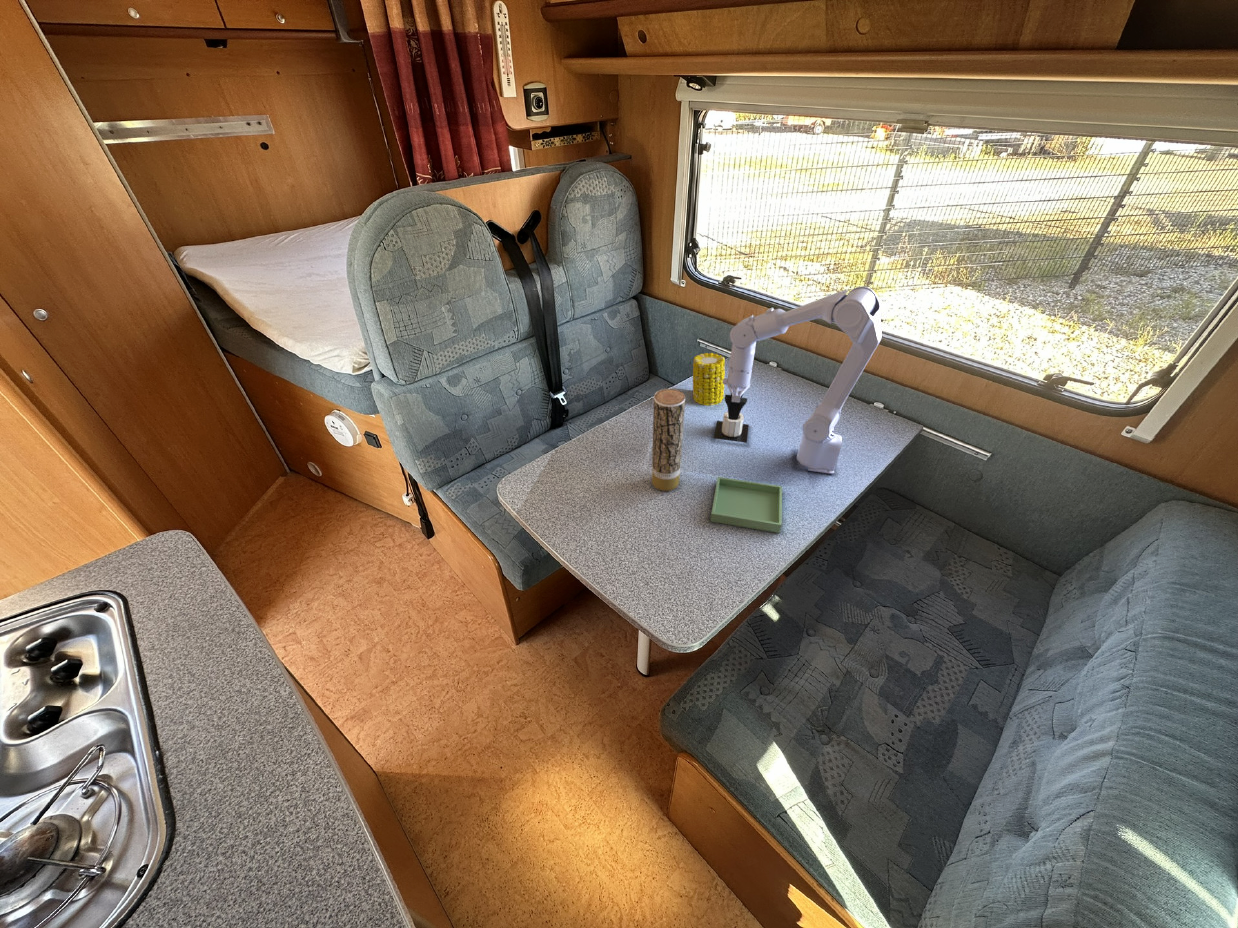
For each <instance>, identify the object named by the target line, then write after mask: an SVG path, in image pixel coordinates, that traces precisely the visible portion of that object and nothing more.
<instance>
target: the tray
mask: <svg viewBox="0 0 1238 928" xmlns="http://www.w3.org/2000/svg"><path fill="white" fill-rule="evenodd" d="M782 521H783V486H782V485H778V484H777V485H776V484H769V483H762V482H756V481H750V480H742V479H736V478H729V477H723V476H717V478H716V485H715V490H714V496H713V503H712V508H711V515H710V522H713V523H719V524H725V525H730V526H734V527H735V526H736V527H741V528H747V529H753V530H759V531H766V532H770V533H771V532H773V533H776V534H780V532H781V529H782Z"/></svg>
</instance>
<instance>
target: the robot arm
mask: <svg viewBox="0 0 1238 928" xmlns="http://www.w3.org/2000/svg"><path fill="white" fill-rule="evenodd" d="M849 290H850V289H845V290H841V291H838V292H836V293H833V294H830V295H827V296H824V297H822V298H819V299H816V300H814V301H811V302H808V303H806V304H803V305H800V306H797V307H795V308H793V309H790V310H788V311H786V310H783V309H782V308H776V309H774V307H771V308H768V309H767V310H766V311H765V312H764V313H762V314H759V315H756V316H755V315H754V314H751V315H750V316H749V317H746V318H744V319H742V320H740V321H739V322H737V323H736V324H735V326H733V327H732V328H731V330H730V332H729V341H730V342H731V351H730V359H729V367H728V373H727V377H726V378H725V377H724V379H723V384H724V385H726V386H727V388H728V390H729V393H730V394H724V403H725V404H726V407H727V412H728V417H729V419H730V420H737V419H738V417H739V414H740V413H741V411H742V410H743V408H744V407H745V406H746V405H747V403H748V397H743V395H744V393H746V391H748V389H749V388H750V387H751V378H752V371H753V365H754V360H755V354H756V345H757V341H758V342H759V341H763V340H767V339H771V338H773V337H777V336H779V335H783V334H786V333H787V331H788V329H789V327H791V326H794V325H799V324H802V323H806V322H810V321H813V320H817V319H823V320H824V321H826V322H827V323H828V324H832V323H833V322H834V323H835V325H836V326H837V327H838V328H839V329H840V330H841V331H842V332H843V333H844V334H845V335H847V336H848V337H849V339H850V341H851V343H852V345H851V347H850V349H849V351H848V352H847V354H846V356H845V357H844V360H843V362H842V363H841V364H840V366H839V369H838V371H837V373H836V374H835V376H834V378H833V380H832V382H831V383H830V386H829V388H828V389H827V391H826V392H825V395H824V397H823V398H822V400H821V402H820V403H819V404H818V405H817V406H815V408H814V410H813V412H812V414H810V416H809V417H808V419H806V421H804V423H803V425H802V435H801V439H800V443H799V447H798V450H797V454H796V461H798V463H799V464H801V465H802V466H804V467H806V468H807V471H809V472H814V473H815V472H816V473H821V474H822V473H823V474H830V475H834V474H835V469H836V466H837V463H838V460H839V457H840V454H841V450H842V444H843V439H842V438H843V437H842V435H841V434H837V433H835V430H834V428H835V426H836V425H837V423H838V422H839V421H840V419H841V410H842V408H843V406H844V404H845V402H846V401H847V399H848V397H849V395H850V394H851V392H852V391H853V389H854V387H855V385H856V384H857V382H858V380H859V378H860V377H861V376H862V374H863V371H864V370H865V368H866V367H867V365H868V363H869V361H870V360H871V358H872V356H873V354H874V353H875V351H876V350H877V348H878V346H879V345H880V342H881V341H882V338H883V334H882V332H883V331H882V321H881V309H882V303H881V301H880V299H879V297H878V295H877V293H876V292H875V291H874V290H873V289H872V288H870V287H868V286H857V287H854V288H852V289H851V290H850V291H849Z"/></svg>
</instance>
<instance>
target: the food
mask: <svg viewBox="0 0 1238 928" xmlns="http://www.w3.org/2000/svg"><path fill="white" fill-rule="evenodd" d="M692 360H693V363H692V368H693V369H692V398H693V401H694V402H695V403H697V404H699V405H703V406H707V407H708V406H717V405H718V404H722V401H723V400H724V399H725V392H724V391H725V384H723V379H724V378H725V376H726V369H725V368H726V366H725V365H726V364H725V363H726V359H725V357H724V356H722V355H721V354H718V353H713V352H709V353H708V352H705V353H700V354H699V355H698V354H697V355H696V356H694V358H693V359H692Z"/></svg>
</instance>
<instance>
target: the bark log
mask: <svg viewBox="0 0 1238 928" xmlns="http://www.w3.org/2000/svg"><path fill="white" fill-rule="evenodd" d="M685 406H686V394H685V393H684V392H683V391H681V390H679V389H675V388H662V389H659V390H657V391H655V393H654V395H653V414H652V415H653V419H652V421H653V422H652V457H651V458H652V459H651V461H652V462H651V463H652V464H651V484H652V485H653V487H654V488H655V489H657V490H659V491H662V492H669V491H673V490H675V489H677V488H678V487H679V484H680V476H681V466H682V465H681V463H682V449H683V448H682V447H683V438H684V437H683V435H684V424H685V423H684V422H685V409H686V407H685Z"/></svg>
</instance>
